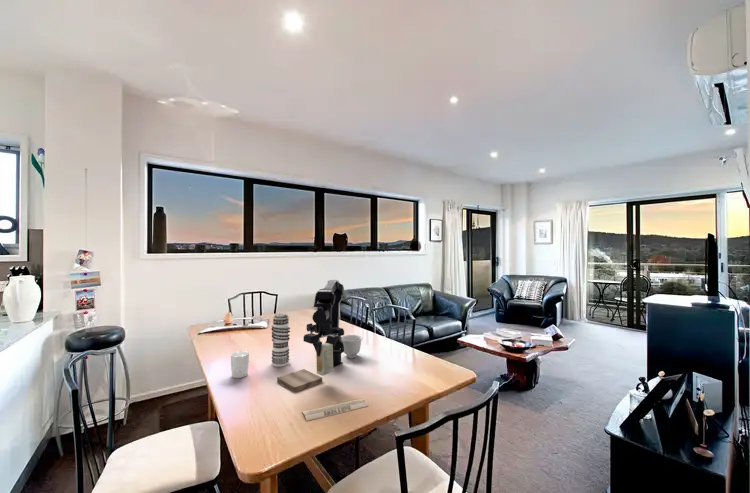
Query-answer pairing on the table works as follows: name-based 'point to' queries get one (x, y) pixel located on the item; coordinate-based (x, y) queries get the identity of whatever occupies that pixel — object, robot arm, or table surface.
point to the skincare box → (325, 359)
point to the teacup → (351, 345)
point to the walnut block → (299, 380)
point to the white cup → (239, 364)
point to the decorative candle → (280, 340)
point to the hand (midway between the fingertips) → (324, 354)
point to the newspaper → (334, 409)
